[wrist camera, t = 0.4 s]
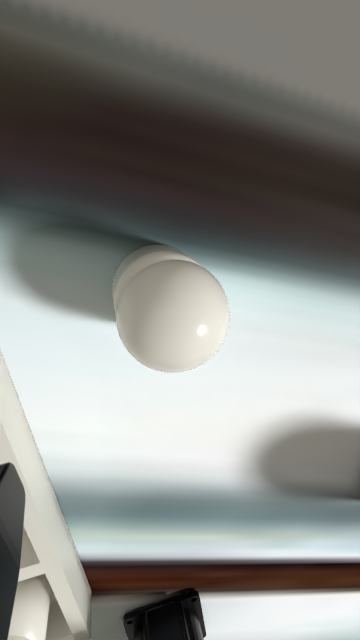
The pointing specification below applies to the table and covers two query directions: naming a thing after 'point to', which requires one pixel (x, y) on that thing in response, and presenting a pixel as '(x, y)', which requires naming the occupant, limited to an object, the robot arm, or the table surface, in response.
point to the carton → (41, 540)
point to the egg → (169, 309)
